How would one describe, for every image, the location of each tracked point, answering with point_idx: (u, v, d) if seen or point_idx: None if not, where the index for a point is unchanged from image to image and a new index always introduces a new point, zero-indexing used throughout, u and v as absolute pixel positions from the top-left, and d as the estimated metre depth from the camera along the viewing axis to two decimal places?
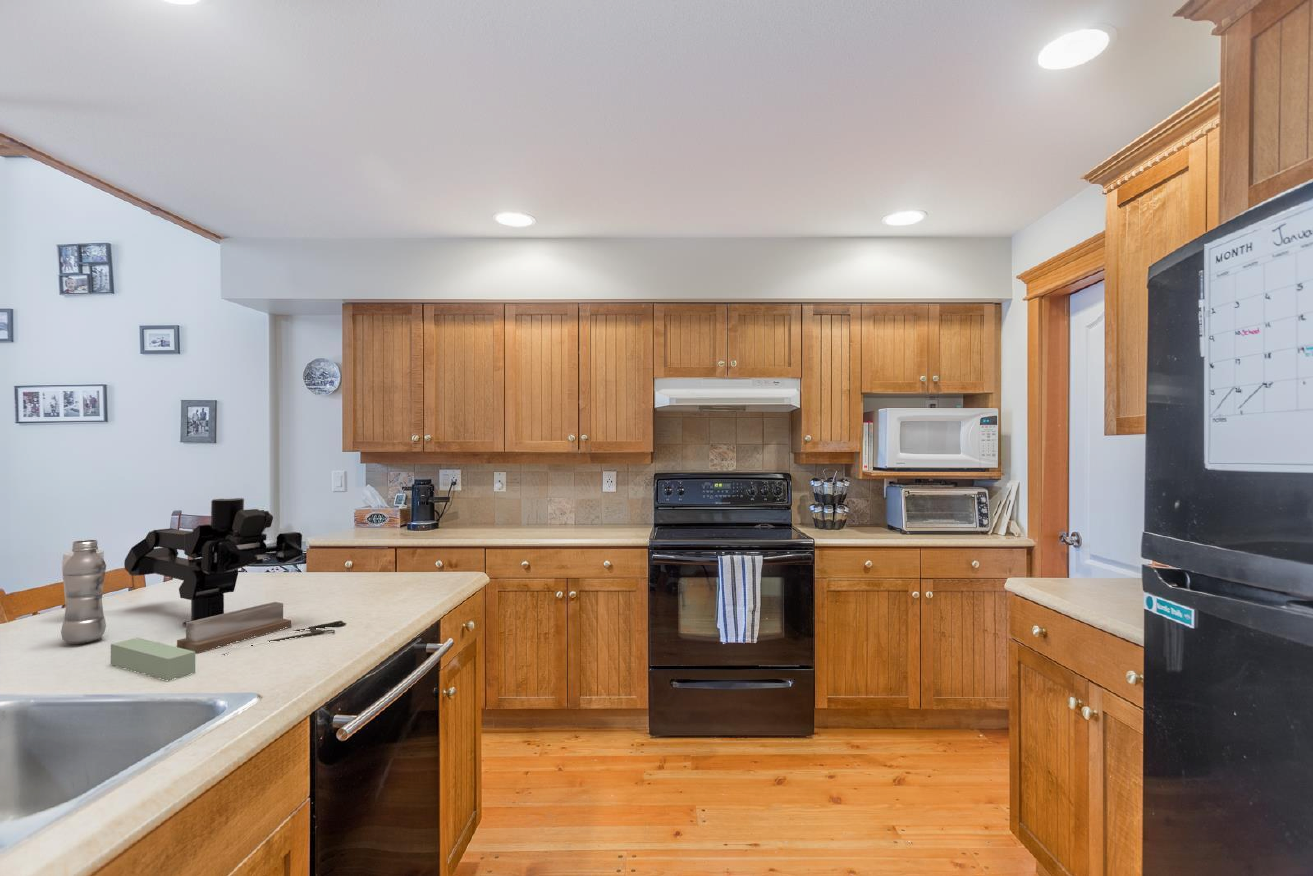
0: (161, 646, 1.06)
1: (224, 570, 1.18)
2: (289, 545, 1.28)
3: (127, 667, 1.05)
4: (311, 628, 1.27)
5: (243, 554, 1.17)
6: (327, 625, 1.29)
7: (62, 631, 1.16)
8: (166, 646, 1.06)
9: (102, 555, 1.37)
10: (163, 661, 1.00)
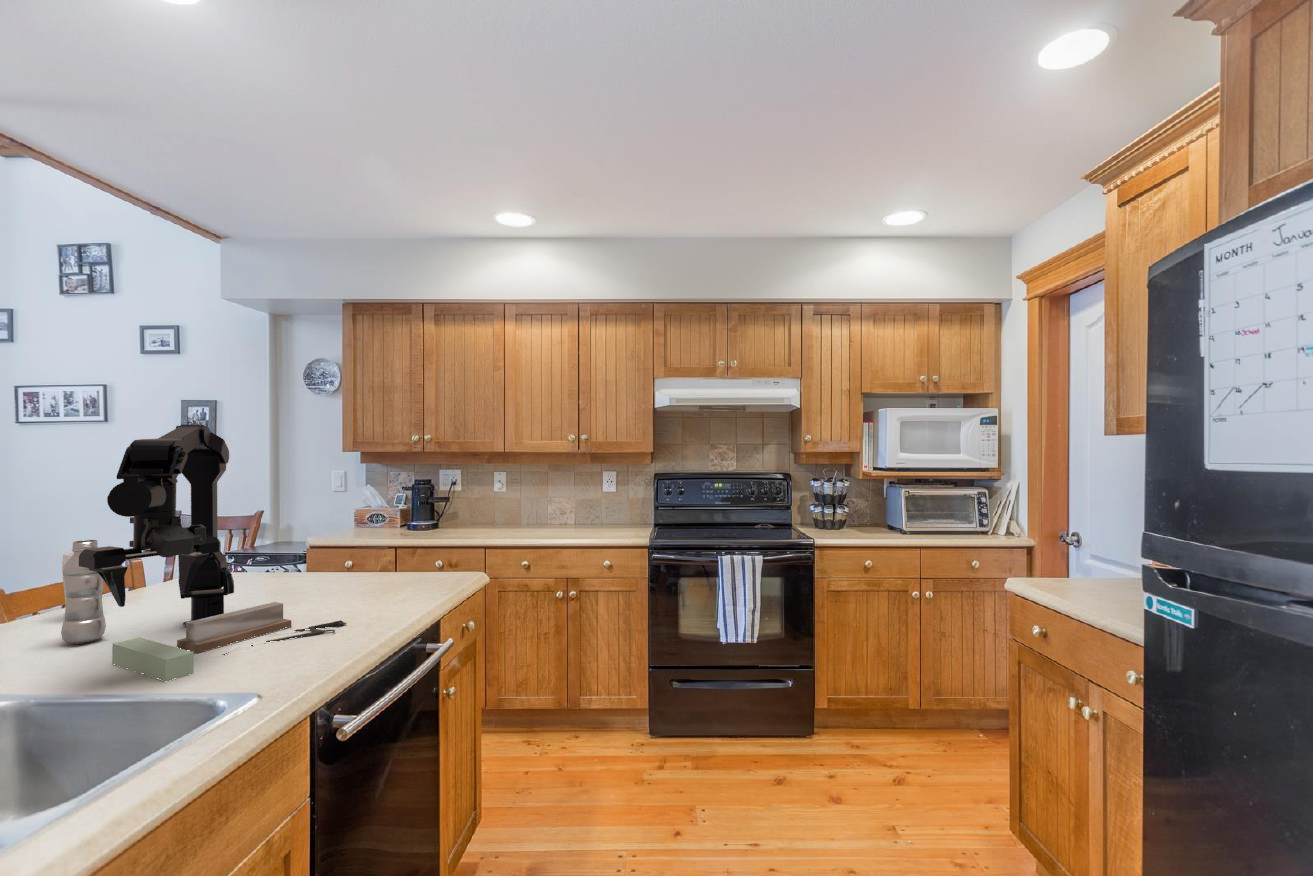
0: (161, 646, 1.06)
1: None
2: (188, 569, 1.09)
3: (127, 667, 1.05)
4: (311, 628, 1.27)
5: (117, 592, 1.00)
6: (327, 625, 1.29)
7: (62, 631, 1.16)
8: (166, 646, 1.06)
9: None
10: (161, 661, 1.00)
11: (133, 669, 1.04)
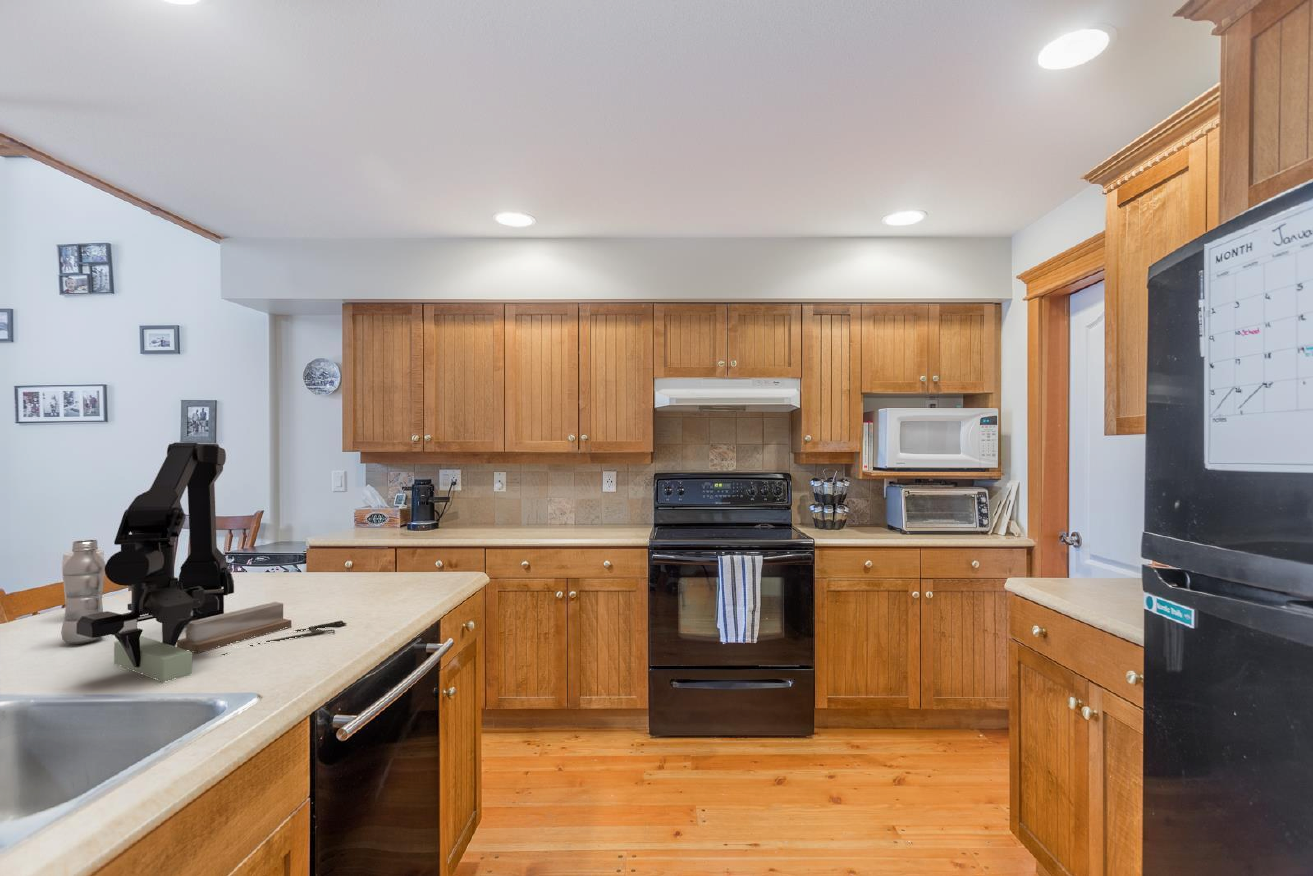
0: (161, 645, 1.06)
1: None
2: (172, 633, 1.07)
3: (128, 666, 1.05)
4: (311, 628, 1.27)
5: (132, 654, 1.02)
6: (327, 625, 1.29)
7: (62, 631, 1.16)
8: (166, 645, 1.06)
9: (102, 555, 1.37)
10: (160, 661, 1.00)
11: (133, 668, 1.04)
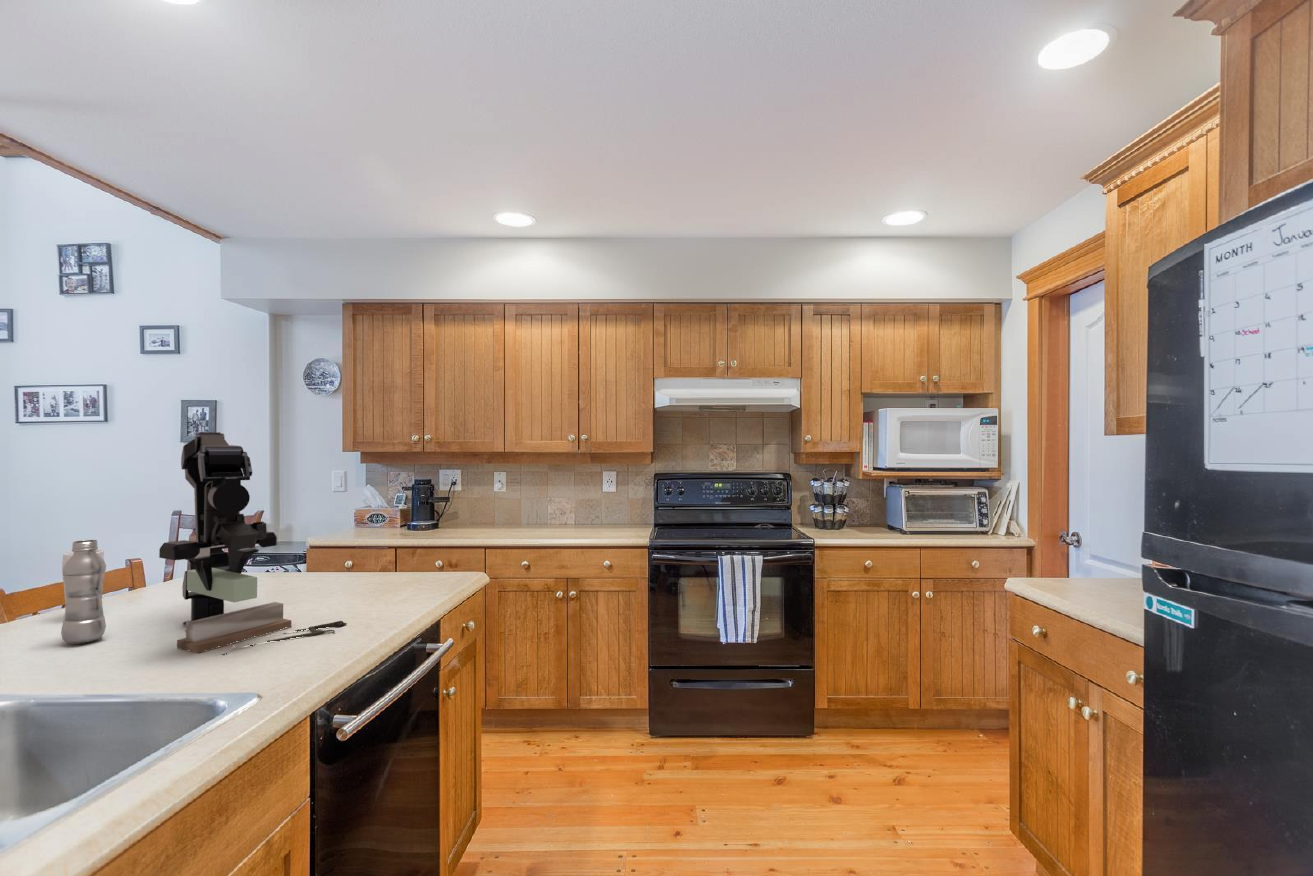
0: (229, 573, 1.20)
1: (188, 559, 1.16)
2: (237, 563, 1.21)
3: (200, 590, 1.19)
4: (311, 628, 1.27)
5: (206, 578, 1.16)
6: (327, 625, 1.29)
7: (62, 631, 1.16)
8: (233, 573, 1.20)
9: (102, 555, 1.37)
10: (230, 583, 1.14)
11: (205, 591, 1.18)
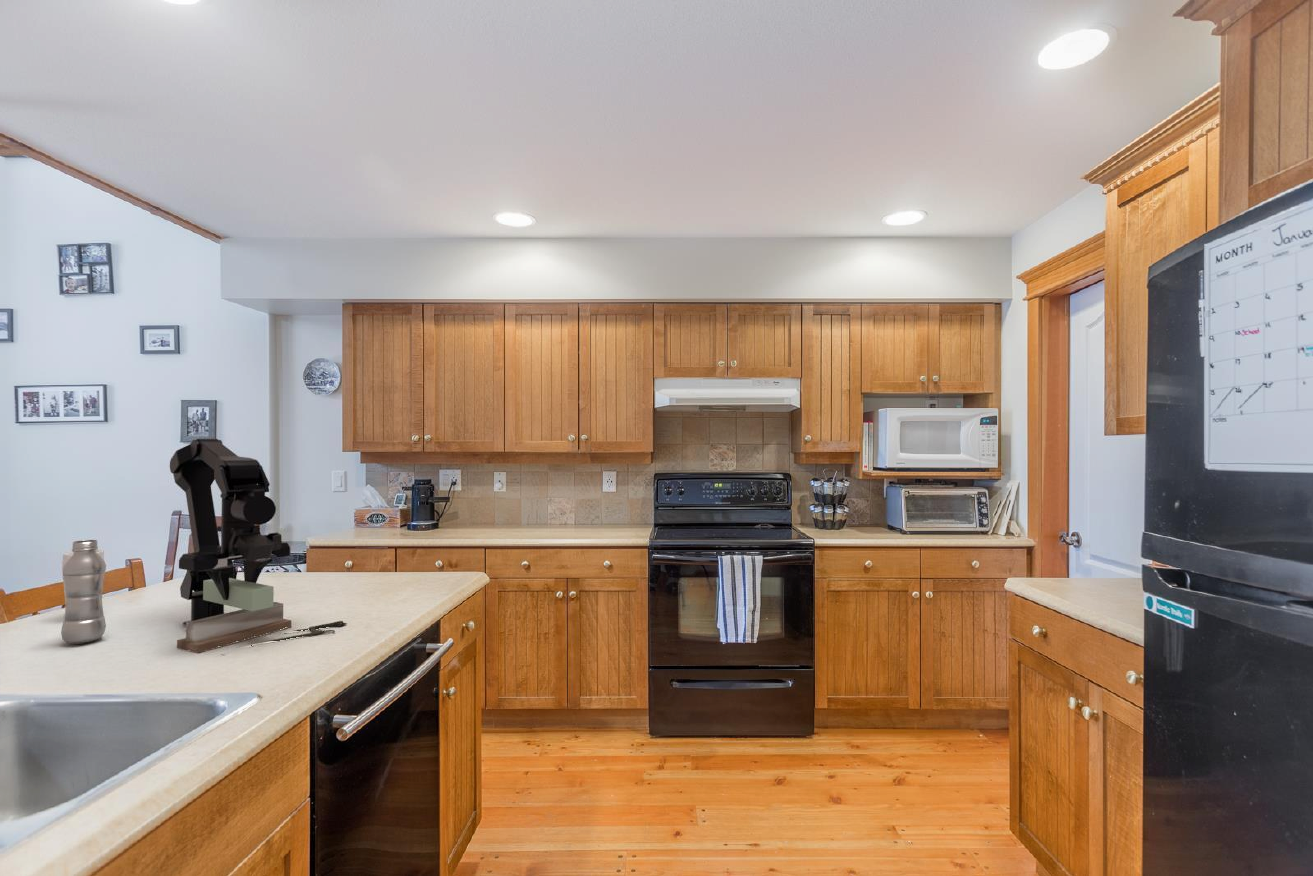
0: (245, 582, 1.23)
1: None
2: (253, 572, 1.25)
3: (217, 599, 1.23)
4: (311, 628, 1.27)
5: (223, 588, 1.20)
6: (327, 625, 1.29)
7: (62, 631, 1.16)
8: (249, 582, 1.23)
9: (102, 555, 1.37)
10: (248, 592, 1.17)
11: (222, 601, 1.22)
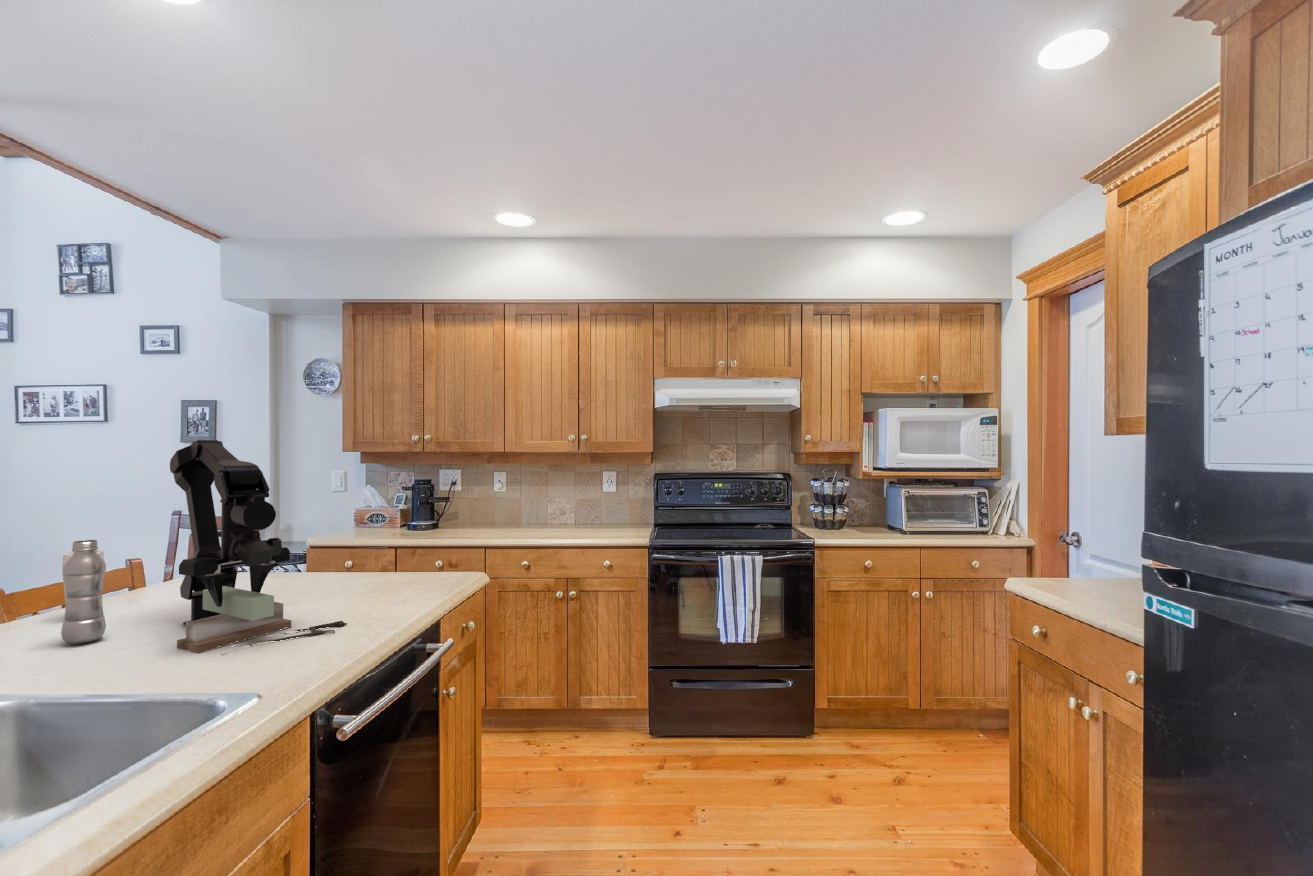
0: (245, 591, 1.23)
1: (199, 576, 1.19)
2: (259, 576, 1.26)
3: (217, 609, 1.22)
4: (311, 628, 1.27)
5: (216, 594, 1.18)
6: (328, 625, 1.29)
7: (62, 631, 1.16)
8: (249, 592, 1.23)
9: (102, 555, 1.37)
10: (248, 602, 1.17)
11: (222, 610, 1.22)
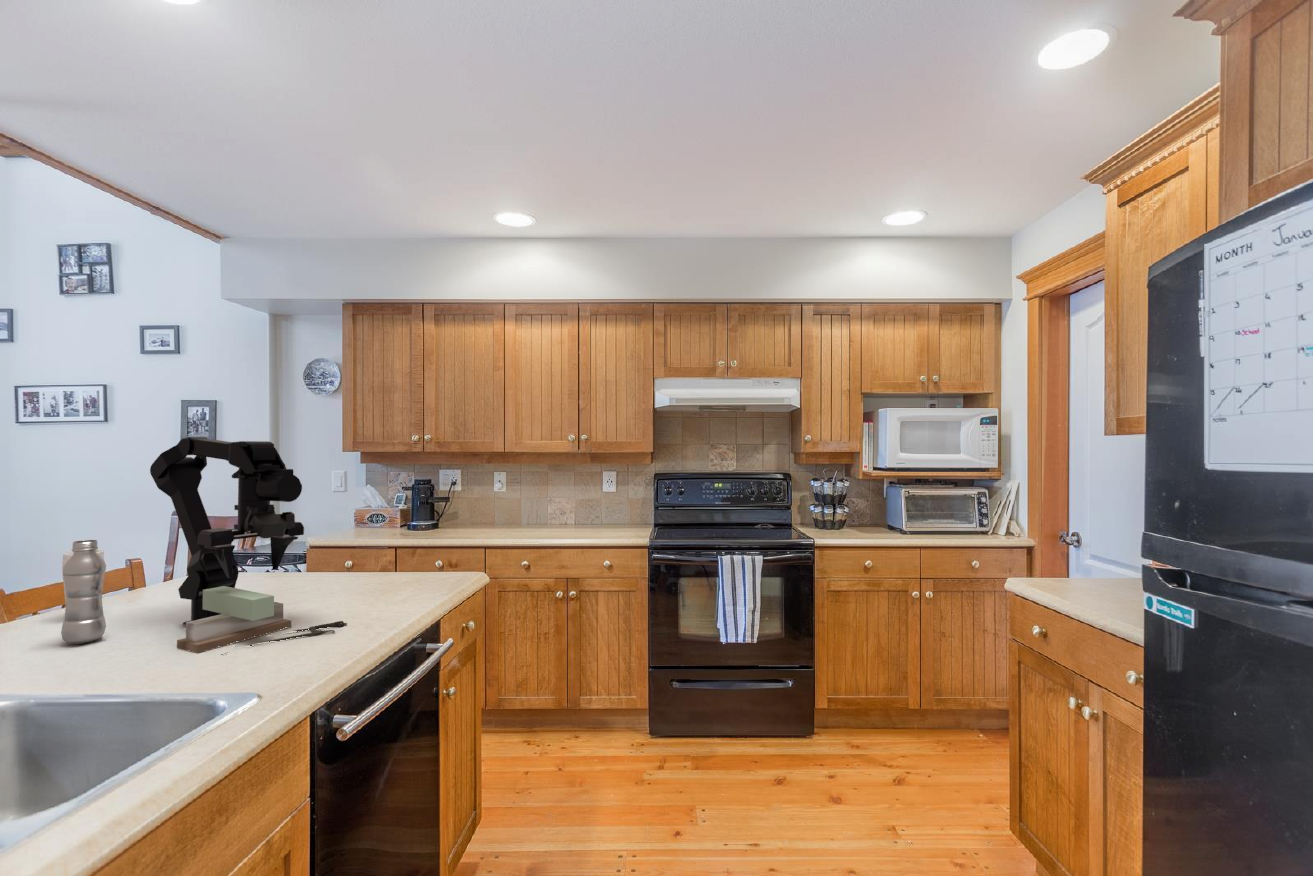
0: (245, 591, 1.23)
1: None
2: (279, 548, 1.31)
3: (217, 609, 1.22)
4: (312, 628, 1.27)
5: (226, 566, 1.22)
6: (328, 625, 1.29)
7: (62, 631, 1.16)
8: (249, 592, 1.23)
9: (102, 555, 1.37)
10: (248, 602, 1.17)
11: (222, 610, 1.22)
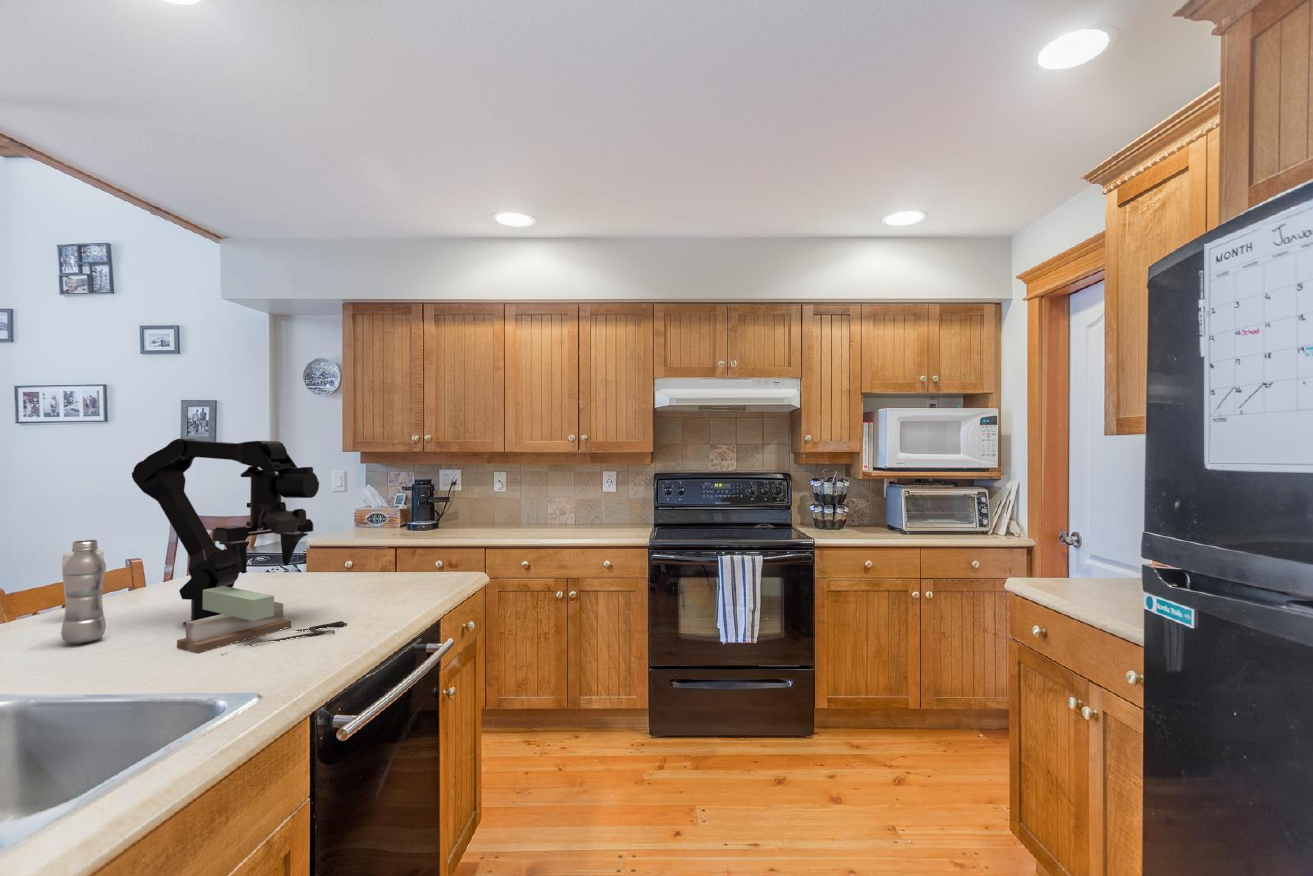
0: (245, 591, 1.23)
1: (225, 544, 1.27)
2: (290, 545, 1.36)
3: (217, 609, 1.22)
4: (312, 628, 1.27)
5: (241, 561, 1.26)
6: (328, 625, 1.29)
7: (62, 631, 1.16)
8: (249, 592, 1.23)
9: (102, 555, 1.37)
10: (248, 602, 1.17)
11: (222, 610, 1.22)
